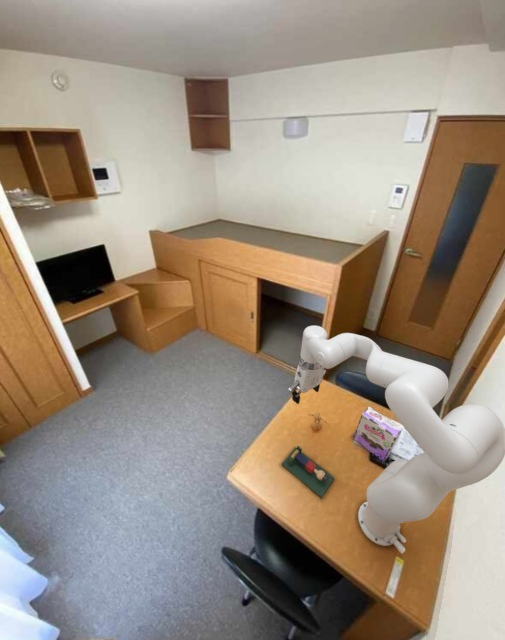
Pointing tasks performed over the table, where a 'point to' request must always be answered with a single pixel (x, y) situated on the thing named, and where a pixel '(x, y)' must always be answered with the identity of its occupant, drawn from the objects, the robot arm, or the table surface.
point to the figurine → (317, 421)
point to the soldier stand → (307, 474)
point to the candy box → (377, 433)
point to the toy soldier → (309, 466)
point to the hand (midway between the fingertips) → (305, 395)
